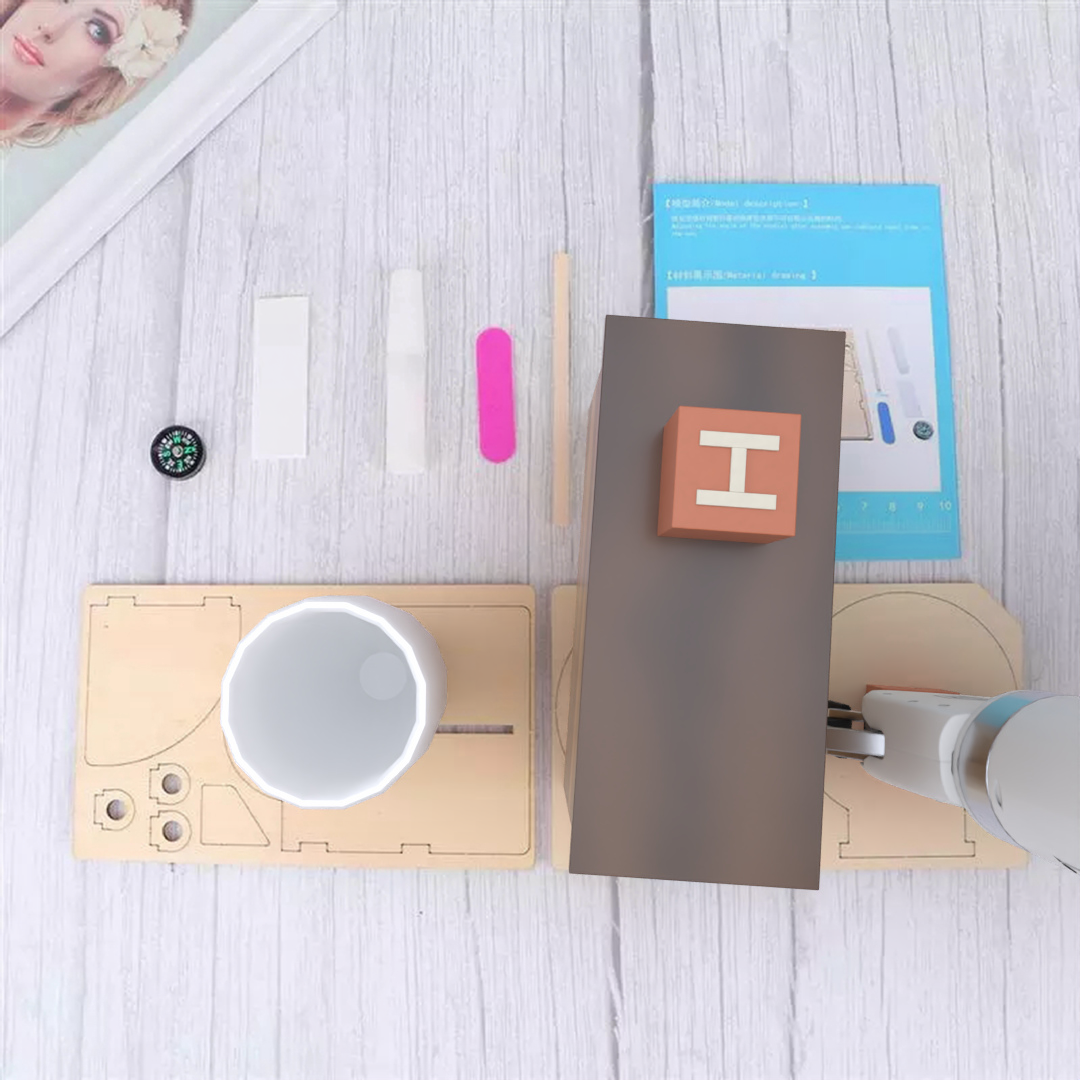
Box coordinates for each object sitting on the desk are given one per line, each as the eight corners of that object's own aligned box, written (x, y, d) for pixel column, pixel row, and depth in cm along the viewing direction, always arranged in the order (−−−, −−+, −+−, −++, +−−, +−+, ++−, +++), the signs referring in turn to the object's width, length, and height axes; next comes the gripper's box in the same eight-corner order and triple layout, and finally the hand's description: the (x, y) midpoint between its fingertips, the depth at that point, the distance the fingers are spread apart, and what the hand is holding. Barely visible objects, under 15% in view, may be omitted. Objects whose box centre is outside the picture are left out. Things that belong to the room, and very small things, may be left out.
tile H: (773, 433, 44) (803, 412, 39) (768, 544, 43) (797, 536, 39) (663, 426, 44) (680, 404, 39) (656, 536, 43) (672, 527, 39)
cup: (368, 780, 65) (288, 866, 43) (284, 650, 65) (164, 670, 44) (498, 694, 65) (484, 736, 44) (414, 565, 66) (359, 544, 44)
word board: (842, 335, 45) (846, 331, 44) (815, 886, 43) (819, 890, 42) (604, 317, 45) (605, 314, 44) (568, 870, 43) (568, 873, 42)
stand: (731, 424, 67) (831, 334, 45) (710, 792, 65) (804, 886, 43) (587, 414, 67) (615, 318, 45) (562, 782, 65) (579, 870, 43)
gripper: (1223, 704, 46) (1029, 679, 63) (867, 679, 46) (767, 661, 63) (1221, 864, 46) (1025, 796, 63) (860, 841, 45) (762, 779, 62)
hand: (897, 729), depth 63 cm, fingers open, 9 cm apart
